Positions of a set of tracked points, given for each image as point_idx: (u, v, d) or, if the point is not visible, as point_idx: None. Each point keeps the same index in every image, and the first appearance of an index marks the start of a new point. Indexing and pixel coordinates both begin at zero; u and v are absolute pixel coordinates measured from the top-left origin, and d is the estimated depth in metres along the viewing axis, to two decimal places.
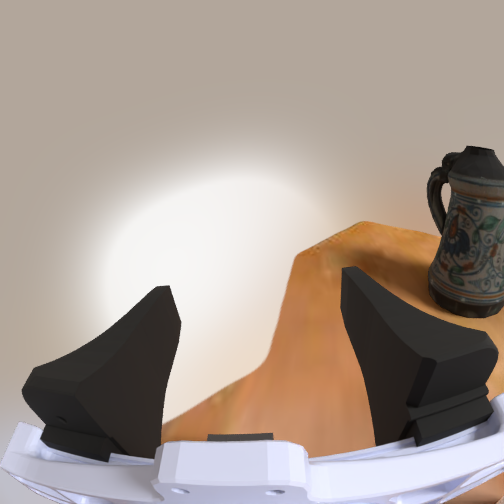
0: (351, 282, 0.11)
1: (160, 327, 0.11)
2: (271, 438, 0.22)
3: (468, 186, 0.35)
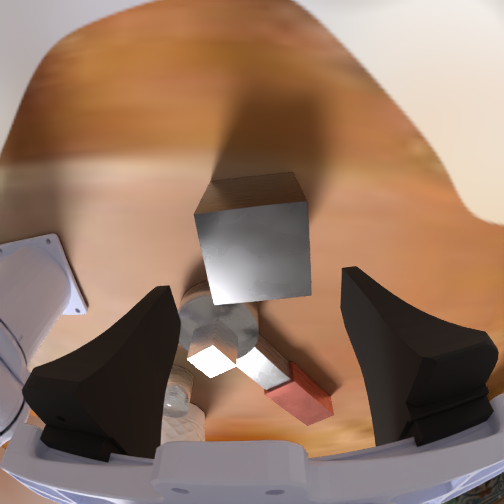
0: (351, 282, 0.11)
1: (160, 327, 0.11)
2: (300, 294, 0.17)
3: None
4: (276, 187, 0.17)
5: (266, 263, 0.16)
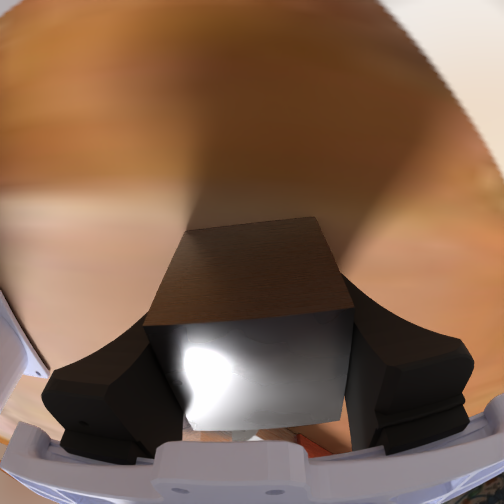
0: None
1: None
2: (324, 421, 0.10)
3: None
4: (292, 258, 0.10)
5: (273, 392, 0.09)
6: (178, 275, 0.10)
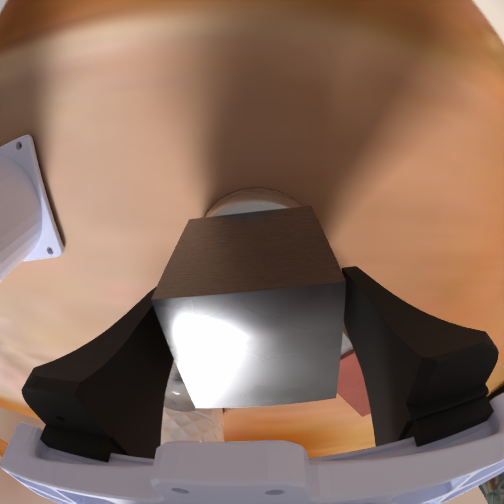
0: (351, 282, 0.11)
1: (160, 327, 0.11)
2: (320, 398, 0.11)
3: None
4: (289, 241, 0.11)
5: (272, 366, 0.10)
6: (183, 256, 0.11)
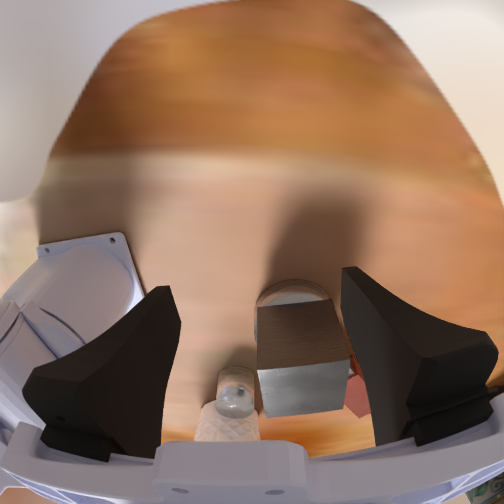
0: (351, 282, 0.11)
1: (160, 327, 0.11)
2: (334, 409, 0.19)
3: None
4: (321, 331, 0.19)
5: (311, 395, 0.18)
6: (265, 340, 0.19)
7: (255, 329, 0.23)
